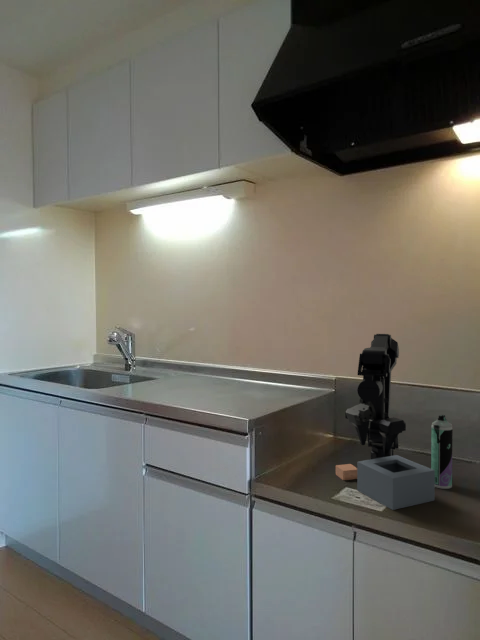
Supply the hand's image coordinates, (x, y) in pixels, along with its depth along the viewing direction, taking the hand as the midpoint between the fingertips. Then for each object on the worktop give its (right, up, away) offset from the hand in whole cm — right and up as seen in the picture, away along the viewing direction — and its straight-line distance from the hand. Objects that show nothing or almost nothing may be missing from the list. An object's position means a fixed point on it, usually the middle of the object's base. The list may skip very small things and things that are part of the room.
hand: (374, 449), depth 134 cm
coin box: (+4, -11, -6) cm, 13 cm away
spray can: (+19, -11, +1) cm, 22 cm away
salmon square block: (-6, -11, +9) cm, 15 cm away
